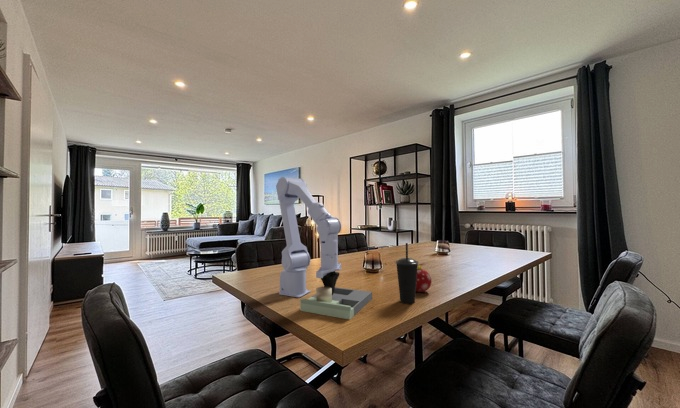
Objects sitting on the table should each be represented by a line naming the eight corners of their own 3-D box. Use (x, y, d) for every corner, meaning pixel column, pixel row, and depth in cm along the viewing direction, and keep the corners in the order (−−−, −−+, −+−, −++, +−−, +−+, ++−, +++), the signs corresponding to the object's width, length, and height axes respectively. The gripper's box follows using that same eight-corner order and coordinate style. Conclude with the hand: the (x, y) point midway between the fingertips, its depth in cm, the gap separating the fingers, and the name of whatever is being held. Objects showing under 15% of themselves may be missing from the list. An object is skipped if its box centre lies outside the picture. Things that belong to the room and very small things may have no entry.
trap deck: (300, 310, 88) (300, 299, 88) (329, 292, 106) (329, 283, 106) (349, 319, 81) (349, 307, 81) (372, 298, 99) (372, 288, 99)
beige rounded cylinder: (313, 302, 88) (313, 289, 89) (321, 297, 93) (320, 285, 93) (327, 304, 86) (327, 291, 86) (334, 299, 91) (334, 287, 91)
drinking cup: (398, 296, 101) (397, 241, 101) (420, 299, 98) (419, 242, 98) (394, 303, 94) (393, 244, 94) (417, 306, 91) (416, 245, 91)
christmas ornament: (406, 288, 111) (405, 263, 111) (427, 288, 111) (427, 263, 111) (411, 295, 102) (410, 267, 102) (434, 295, 102) (434, 267, 102)
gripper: (330, 258, 85) (330, 303, 85) (348, 251, 98) (349, 290, 98) (310, 257, 88) (310, 300, 88) (331, 250, 101) (331, 287, 101)
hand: (329, 294), depth 93 cm, fingers closed
